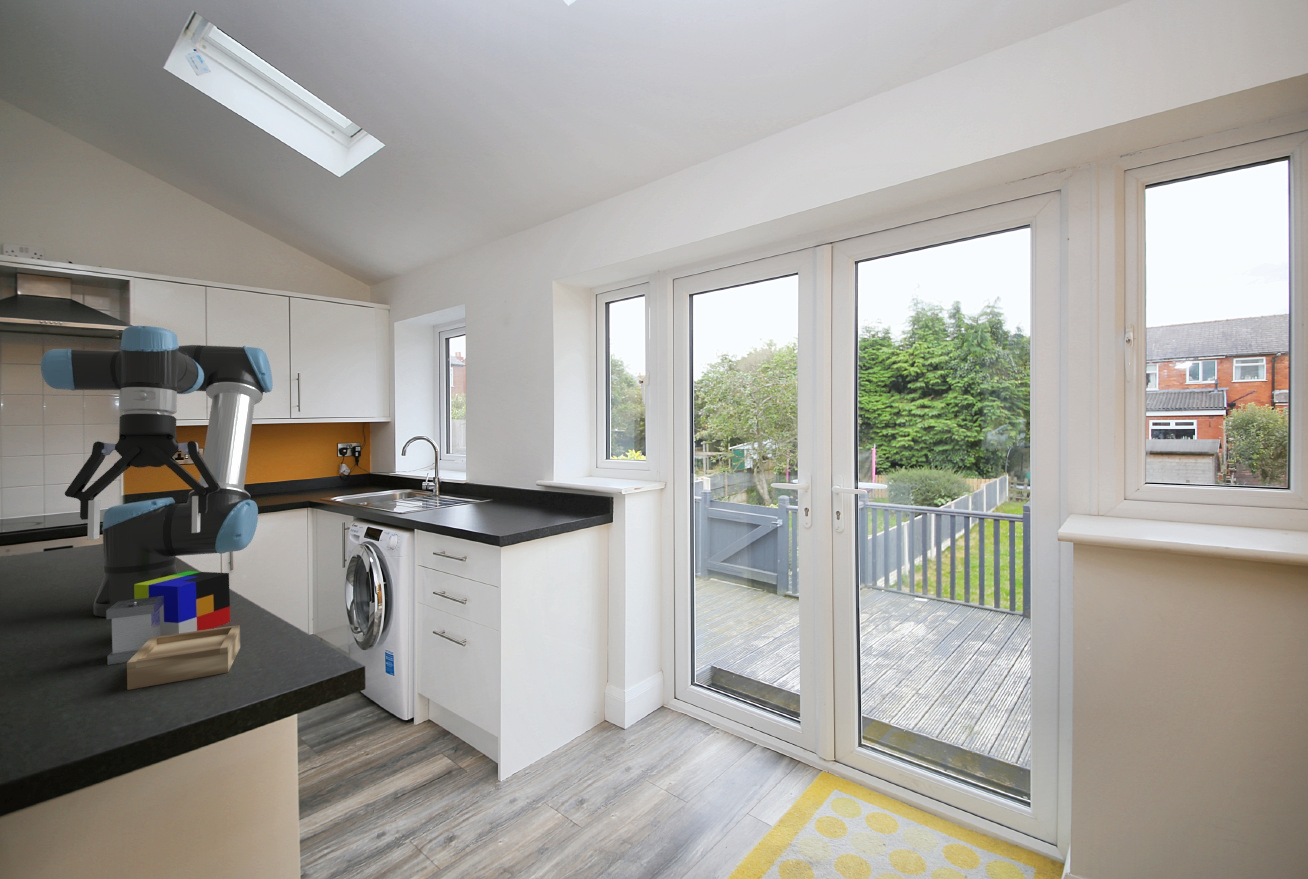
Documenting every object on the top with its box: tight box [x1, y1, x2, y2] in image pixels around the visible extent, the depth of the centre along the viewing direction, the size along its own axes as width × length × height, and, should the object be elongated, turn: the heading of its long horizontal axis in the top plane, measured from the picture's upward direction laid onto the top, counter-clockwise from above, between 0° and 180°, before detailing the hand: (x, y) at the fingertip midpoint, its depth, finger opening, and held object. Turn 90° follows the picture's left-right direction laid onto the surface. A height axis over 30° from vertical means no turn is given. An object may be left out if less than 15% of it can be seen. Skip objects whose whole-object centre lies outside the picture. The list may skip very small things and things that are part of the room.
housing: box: [105, 596, 164, 666], centre depth 97 cm, size 6×6×10 cm
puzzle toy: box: [134, 570, 231, 636], centre depth 110 cm, size 10×10×10 cm
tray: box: [126, 624, 241, 691], centre depth 92 cm, size 12×12×4 cm
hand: (146, 535), depth 99 cm, fingers open, 13 cm apart
